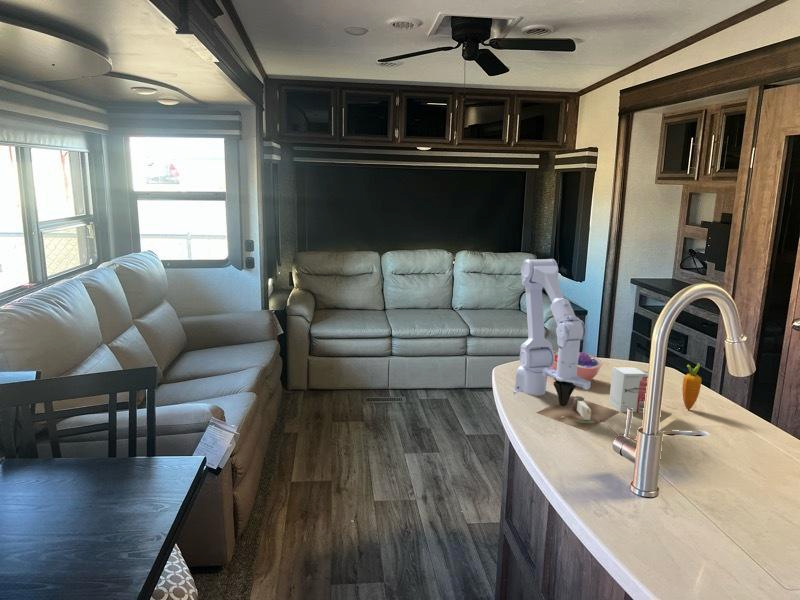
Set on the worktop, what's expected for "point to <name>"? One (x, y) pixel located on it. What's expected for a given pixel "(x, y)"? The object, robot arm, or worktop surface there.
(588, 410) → the peg
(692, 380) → the carrot
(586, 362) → the cell model
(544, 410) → the brown flat sheet
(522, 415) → the worktop surface
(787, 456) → the worktop surface
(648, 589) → the worktop surface
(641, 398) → the soda can
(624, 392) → the supplement box
